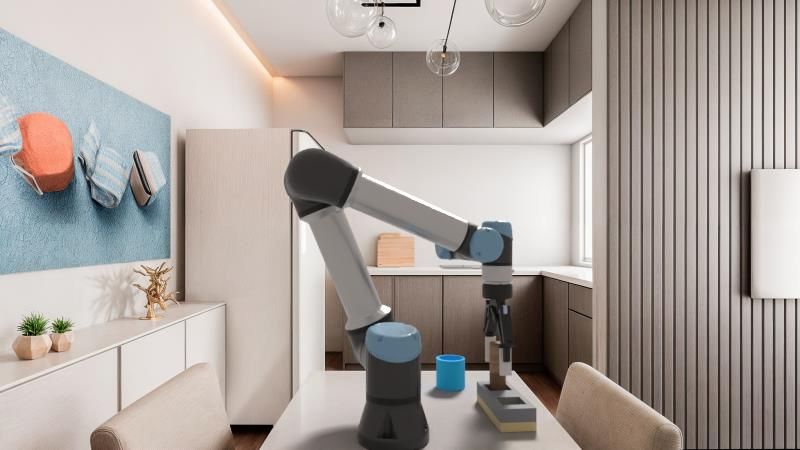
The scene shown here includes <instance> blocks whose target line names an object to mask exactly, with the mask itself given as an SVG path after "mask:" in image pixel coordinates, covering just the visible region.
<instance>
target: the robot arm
mask: <svg viewBox="0 0 800 450" xmlns="http://www.w3.org/2000/svg"><path fill="white" fill-rule="evenodd" d="M283 186H284V190H285V192H286V194H287V196H288V197H289V199H290V200H291V201H292V203H293V207H294V209H295V211H296V214H297V216H298V218H299V220H300V221H302V222H304V223H307V224H308V225H309V228H310V230H311V232H312V235H313V237H314V239H315V241H316V245H317V247H318V249H319V252H320V254H321V256H322V258H323V261H324V263H325V266H326V269H327V271H328V273H329V276H330V278H331V280H332V283H333V285H334V288H335V290H336V293H337V295H338V297H339V300H340V302H341V305H342V306H343V310H344V312H345V314H346V316H347V321H346V323H345V325H344V329H345V332H346V333H347V337H348V338H349V341H350V343H351V348H352V349H351V351H352V352H353V356H354V358H355V359H356V360H357V362H358V363H359V364H360V365H361V366H362V368H364V370H365V404H364V407H363V410H362V413H361V416H360V421H359V424H358V427H357V442H358V444H360V446H362V447H364V448H366V449H368V450H417V449H420V448H423V447H424V446H425V445H427V444H428V443H429V441H430V426H429V423H428V420H427V416H426V413H425V409H424V406H423V404H422V348H423V346H422V345H423V344H422V341H421V339H422V338H421V334H420V331H419V330H418V328H416V327H415V326H413V325H411V324H405V323H404V322H398V321H397V320H396V319H395V315H394V314H393V311H392V309H391V307H390V306H387V305H384V304H382V301H381V299H380V297H379V294H378V291H377V289H376V287H375V284H374V282H373V279H372V276H371V275H370V274H371V273H370V272H369V269H368V267H367V264H366V262H365V259H364V257H363V255H362V252H361V250H360V247H359V245H358V242H357V240H356V237H355V235H354V233H353V230H352V228H351V225H350V223H349V221H348V218H347V216H346V213H345V209H348V208H350V209H353V210H356V211H357V212H359V213H362V214H365V215H367V216H370V217H371V218H374V219H376V220H378V221H381V222H383V223H386V224H387V225H391V226H392V227H395V228H398V229H399V230H402V231H405V232H407V233H409V234H411V235H414V236H416V237H418V238H421V239H423V240H426V241H428V242H430V243H432V244H434V250H435V254H436V256H437V258H438V259H440V260H448V261H451V260H458V261H459V260H460V261H471V262H476V263H477V262H478V263H481V280H482V282H483V283H482V285H481V287H482V288H481V293H482V294H481V295H482V296H481V297H482V298H483V299H485V309H484V317H483V325H482V332H483V333H484V334H483V335H484V336H485V337H484V355H485V356H484V359H485V363H490V356H489V342H492V341H497V336H498V340H499V341H500V344H499V346H498V348H499V366H500V376H506V377H507V376H513V375H512V373H513V372H512V366H513V365H512V363H513V362H512V361H513V360H512V359H513V358H512V349H513V348H515V347H516V343H515V336H514V329H513V324H512V323H513V322H512V316H511V305H510V304H506V300H512V298H513V297H514V296H513V295H514V291H513V289H514V288H513V287H514V286H513V284H512V283H511V282H512V281H513V274H514V273H515V269H514V268H513V241H514V237H513V227H512V223H511V222H510V221H508V220H486V221H483V222H482V223H481V226H479V225H477V224H475V223H473V222H470V221H468V220H466V219H465V218H462V217H460V216H458V215H455V214H453V213H451V212H448V211H447V210H444V209H442V208H439V207H437V206H435V205H432V204H431V203H428V202H426V201H424V200H422V199H420V198H417V197H415V196H413V195H410V194H409V193H406V192H404V191H402V190H401V189H400V190H399V189H398V188H396V187H393V186H391V185H389V184H387V183H384V182H383V181H379V180H378V179H375V178H373V177H371V176H368V175H366V174H364V173H363V169H362V168H361V167H360V166H358V165H356V164H353V163H351V162H349V161H348V160H346V159H344V158H342V157H341V156H340V157H339V156H338V155H336V154H334V153H332V152H330V151H327V150H325V149H322V148H315V147H310V148H309V147H308V148H306V149H303V150H300V151H299V152H297V153H296V154H295V155H294V156H293V157H292V158H290V161H289V163H288V165H287V167H286V169H285V171H284V176H283Z"/></svg>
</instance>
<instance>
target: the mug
mask: <svg viewBox="0 0 800 450" xmlns="http://www.w3.org/2000/svg"><path fill="white" fill-rule="evenodd" d="M435 359H436V361H435V363H436V364H435V366H436V367H435V370H436V371H435V375H436V376H435V377H436V379H435V381H436V382H435V384H436V385H435V388H437V389H438V390H441V391H447V392H457V391H462V390H465V389H466V358H465V357H464V356H462V355H458V354H456V355H455V354H442V355H437V356H436V357H435Z"/></svg>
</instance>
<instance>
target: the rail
mask: <svg viewBox="0 0 800 450" xmlns="http://www.w3.org/2000/svg"><path fill="white" fill-rule="evenodd" d="M476 402H477V403H478V404H479V407H481V408H482V410H483V411H484V413H486V415H487V417H488V418H489V419H490V420H491V422H492V423H493V424H494V426H495V427H496V429H497V430H498V431H499V432H500V433H513V432H514V433H516V432H517V433H518V432H519V433H520V432H524V433H525V432H537V431H538V430H537V407H536V406H535V405H534V404H533V403H532V402H530V400H528V398H527V397H525V396H524V395H523V394H522V393H521V392H520V391H519V390H518V389H517V388H516V387H515V386H514V385H512V384H511V383H510V382H509V381H508V380H506V390H497V391H490V380H487V381H486V380H485V381H484V380H483V381H482V380H481V381H478V380H477V381H476Z"/></svg>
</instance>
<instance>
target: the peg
mask: <svg viewBox="0 0 800 450" xmlns="http://www.w3.org/2000/svg"><path fill="white" fill-rule="evenodd" d="M499 344H500V340H496V341H492V342H489V356H490V362H489V381H490V391H497V390H506V381H507V376H500V366H499V348H498V346H499Z"/></svg>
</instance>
